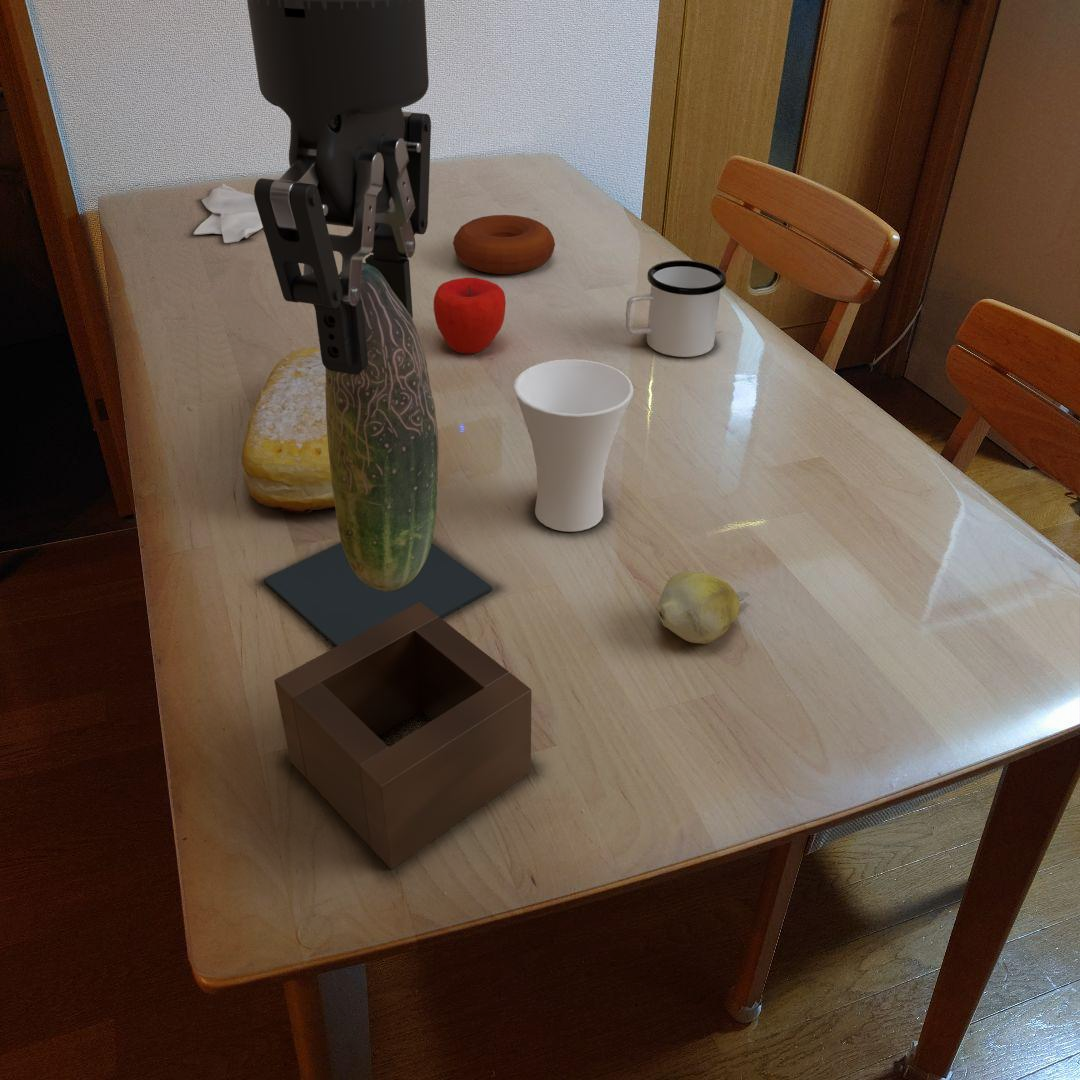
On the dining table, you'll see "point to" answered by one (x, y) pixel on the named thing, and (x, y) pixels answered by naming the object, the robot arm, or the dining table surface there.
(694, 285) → the mug
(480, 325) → the apple
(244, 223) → the cloth
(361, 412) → the vegetable
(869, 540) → the dining table surface
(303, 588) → the mat
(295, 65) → the robot arm
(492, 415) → the dining table surface
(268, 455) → the bread
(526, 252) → the donut
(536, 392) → the cup
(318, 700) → the holder
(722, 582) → the fruit
